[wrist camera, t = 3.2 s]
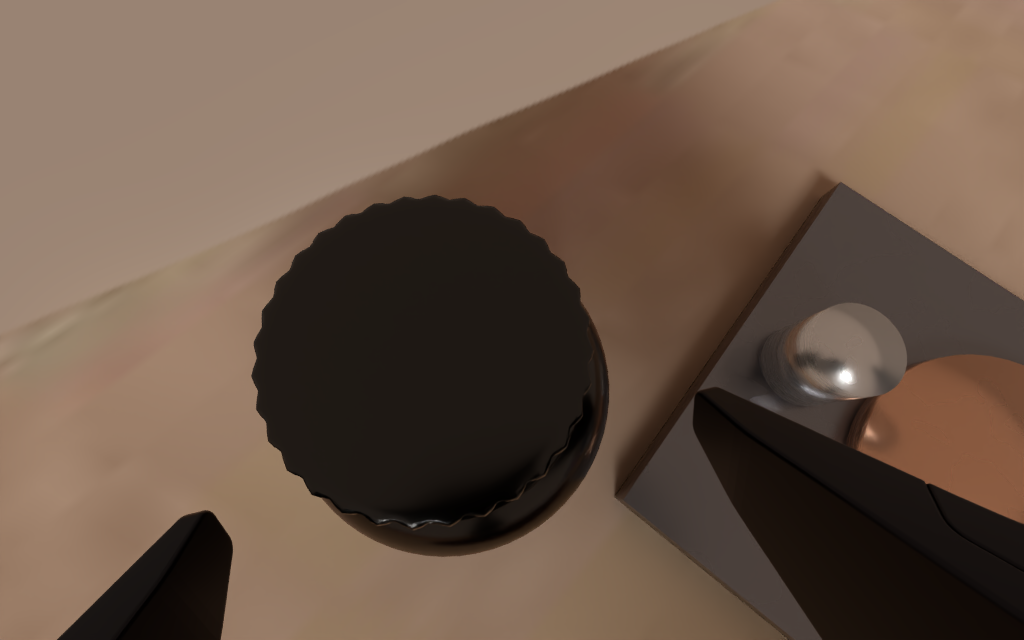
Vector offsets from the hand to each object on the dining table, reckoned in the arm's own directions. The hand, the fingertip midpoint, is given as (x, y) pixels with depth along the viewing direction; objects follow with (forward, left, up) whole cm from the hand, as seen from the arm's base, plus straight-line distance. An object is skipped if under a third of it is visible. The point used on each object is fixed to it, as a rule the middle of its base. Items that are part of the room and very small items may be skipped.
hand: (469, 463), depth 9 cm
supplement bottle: (+1, -1, -9) cm, 10 cm away
